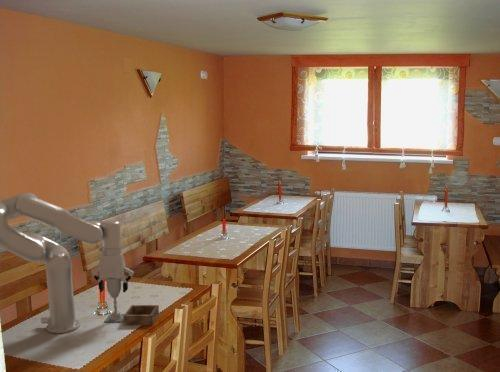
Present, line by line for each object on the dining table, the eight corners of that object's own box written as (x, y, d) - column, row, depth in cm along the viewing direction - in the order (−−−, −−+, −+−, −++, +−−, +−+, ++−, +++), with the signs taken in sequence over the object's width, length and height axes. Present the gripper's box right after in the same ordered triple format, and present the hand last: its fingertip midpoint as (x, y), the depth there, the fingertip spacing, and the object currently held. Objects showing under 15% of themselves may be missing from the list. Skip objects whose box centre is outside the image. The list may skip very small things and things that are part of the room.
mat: (104, 322, 231) (104, 321, 231) (110, 314, 239) (110, 314, 239) (123, 322, 231) (123, 321, 231) (128, 314, 238) (128, 313, 238)
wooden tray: (124, 325, 228) (123, 315, 227) (132, 314, 239) (131, 305, 238) (152, 325, 227) (152, 315, 226) (159, 314, 238) (158, 305, 238)
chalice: (122, 321, 231) (119, 278, 228) (105, 321, 231) (102, 279, 228) (126, 314, 238) (123, 273, 235) (110, 314, 238) (107, 273, 235)
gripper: (87, 252, 227) (89, 293, 230) (130, 253, 226) (131, 294, 228) (94, 248, 234) (95, 287, 237) (135, 248, 233) (136, 288, 236)
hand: (113, 291), depth 233 cm, fingers open, 9 cm apart
